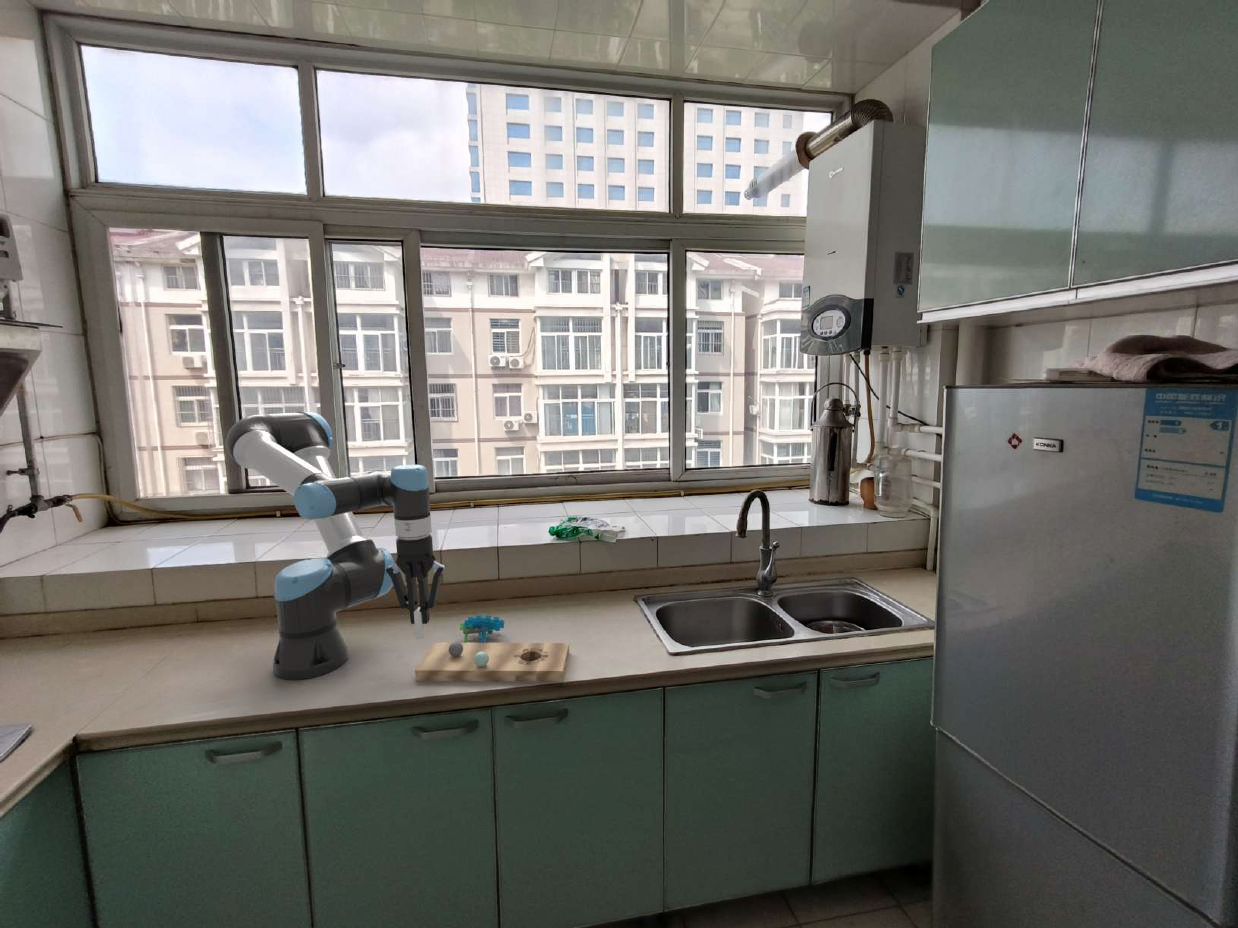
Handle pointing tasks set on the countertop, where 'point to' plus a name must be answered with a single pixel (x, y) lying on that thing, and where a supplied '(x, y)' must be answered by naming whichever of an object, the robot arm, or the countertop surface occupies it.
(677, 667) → the countertop surface
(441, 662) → the board
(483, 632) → the gear
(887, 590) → the countertop surface
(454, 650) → the grey ball
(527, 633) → the countertop surface
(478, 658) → the teal ball
